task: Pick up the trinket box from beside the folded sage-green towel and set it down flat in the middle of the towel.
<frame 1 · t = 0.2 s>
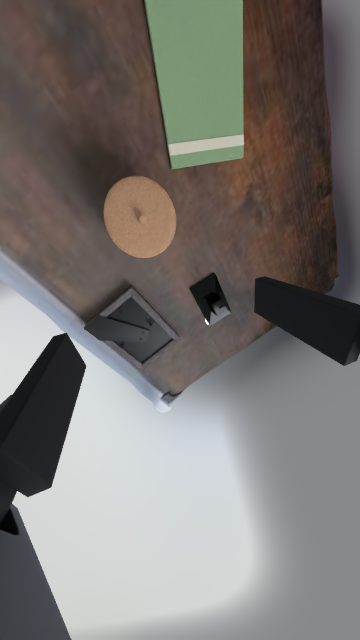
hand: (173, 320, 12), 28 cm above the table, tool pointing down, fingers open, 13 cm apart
towel: (200, 80, 27), on the table
picture frame: (136, 330, 42), on the table
build plate: (211, 300, 45), on the table
trinket box: (138, 223, 33), on the table
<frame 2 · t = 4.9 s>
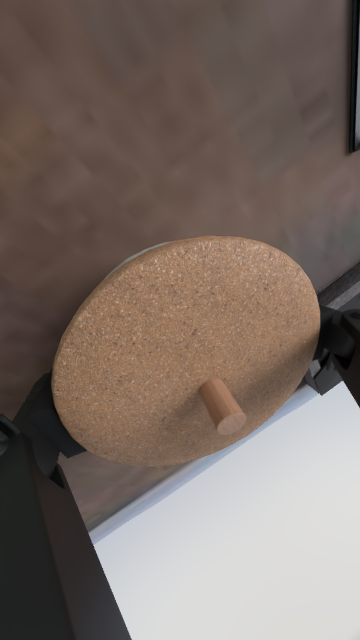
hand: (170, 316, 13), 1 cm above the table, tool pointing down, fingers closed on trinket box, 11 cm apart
picture frame: (357, 310, 21), on the table
trinket box: (167, 310, 14), on the table, touching gripper
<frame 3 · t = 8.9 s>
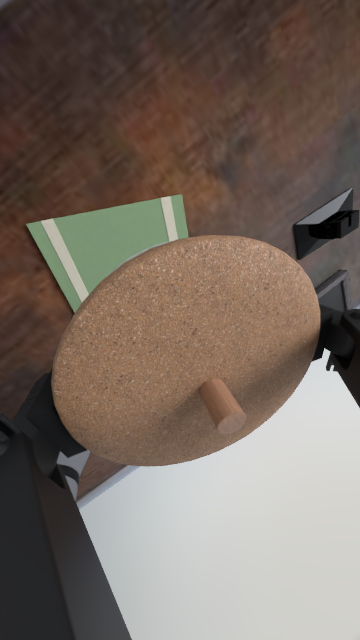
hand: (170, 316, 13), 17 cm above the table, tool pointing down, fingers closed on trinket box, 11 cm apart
towel: (127, 262, 26), on the table
picture frame: (312, 314, 43), on the table
build plate: (322, 225, 33), on the table
trinket box: (167, 310, 14), point 16 cm above the table, touching gripper
when the fingers open (1 cm above the table, at t = 13.2 s): trinket box stays where it is, resting on towel.
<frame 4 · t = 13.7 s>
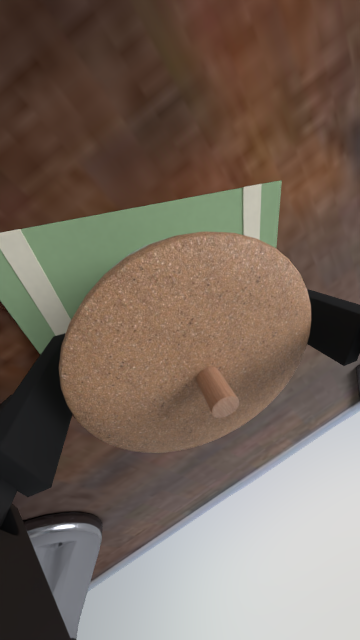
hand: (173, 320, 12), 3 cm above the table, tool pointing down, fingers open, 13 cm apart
towel: (165, 305, 15), on the table
trinket box: (167, 306, 14), resting on towel
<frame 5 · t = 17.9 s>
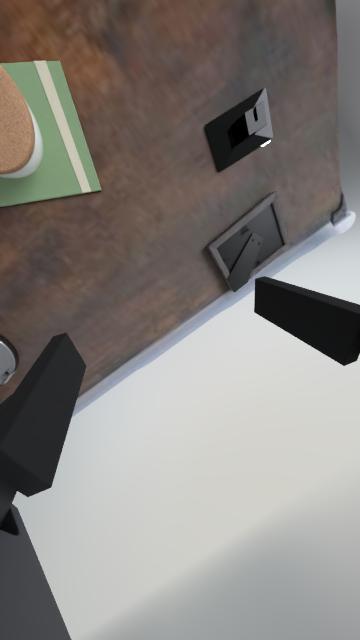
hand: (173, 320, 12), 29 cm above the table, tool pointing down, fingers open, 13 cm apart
towel: (12, 143, 25), on the table
picture frame: (248, 245, 42), on the table
build plate: (239, 133, 32), on the table
trinket box: (11, 141, 25), resting on towel
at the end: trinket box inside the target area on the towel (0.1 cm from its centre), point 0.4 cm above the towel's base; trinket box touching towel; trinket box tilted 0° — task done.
